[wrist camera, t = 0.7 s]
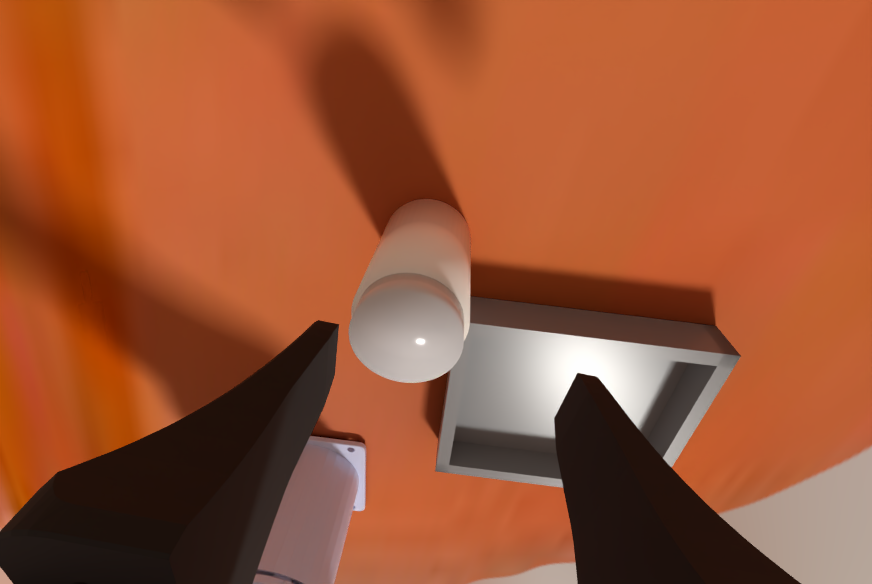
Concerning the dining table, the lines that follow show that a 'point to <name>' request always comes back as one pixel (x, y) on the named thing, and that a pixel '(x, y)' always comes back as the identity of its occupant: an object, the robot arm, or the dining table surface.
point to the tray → (553, 375)
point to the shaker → (415, 295)
